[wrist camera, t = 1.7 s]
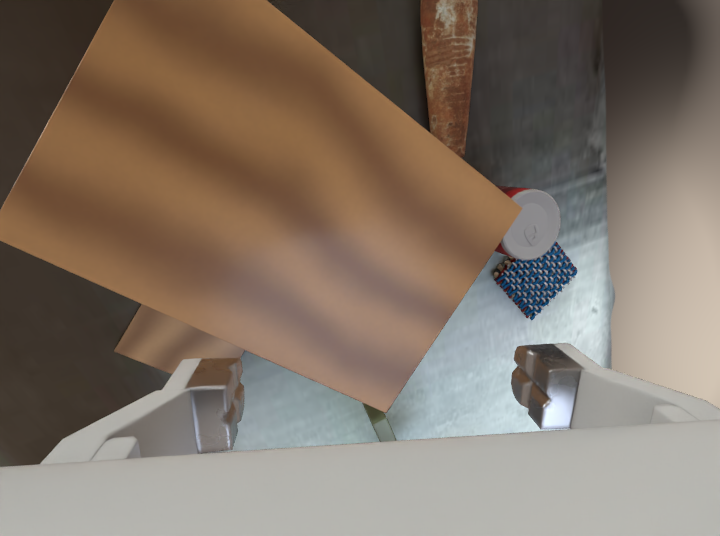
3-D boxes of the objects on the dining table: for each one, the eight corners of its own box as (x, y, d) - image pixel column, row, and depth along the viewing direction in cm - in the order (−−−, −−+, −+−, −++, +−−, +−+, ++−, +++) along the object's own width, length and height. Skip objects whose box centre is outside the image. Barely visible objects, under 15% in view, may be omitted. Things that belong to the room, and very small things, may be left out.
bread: (462, -7, 45) (489, -29, 40) (459, 163, 50) (483, 163, 45) (411, -9, 43) (433, -33, 38) (414, 166, 49) (433, 166, 44)
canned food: (473, 253, 54) (524, 274, 44) (441, 211, 51) (488, 223, 41) (512, 216, 54) (573, 228, 44) (483, 172, 51) (540, 174, 41)
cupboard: (329, 306, 51) (386, 413, 29) (126, 197, 41) (-14, 235, 20) (404, 188, 49) (523, 208, 27) (211, 49, 40) (160, -87, 18)
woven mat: (573, 268, 59) (583, 271, 57) (525, 318, 59) (534, 323, 57) (538, 221, 55) (548, 223, 54) (487, 275, 56) (495, 279, 54)
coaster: (115, 349, 45) (113, 351, 45) (161, 270, 44) (160, 271, 44) (219, 390, 50) (218, 392, 49) (263, 319, 49) (263, 321, 48)
